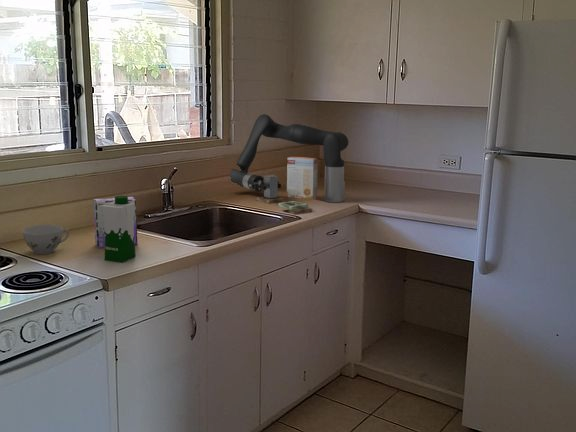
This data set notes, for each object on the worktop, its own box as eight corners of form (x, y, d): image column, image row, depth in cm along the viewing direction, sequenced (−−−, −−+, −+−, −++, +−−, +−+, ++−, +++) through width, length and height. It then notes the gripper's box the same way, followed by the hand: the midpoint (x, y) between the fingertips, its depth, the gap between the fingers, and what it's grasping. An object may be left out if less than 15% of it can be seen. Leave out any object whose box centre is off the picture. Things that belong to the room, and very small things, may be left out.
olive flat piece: (271, 200, 297) (271, 194, 297) (311, 211, 274) (311, 205, 274) (254, 203, 291) (254, 196, 291) (294, 214, 268) (294, 207, 268)
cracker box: (317, 200, 301) (318, 157, 297) (312, 202, 296) (313, 159, 291) (291, 197, 307) (292, 155, 302) (286, 199, 301) (287, 157, 297)
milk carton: (139, 256, 201) (137, 196, 197) (122, 264, 193) (120, 201, 188) (117, 253, 204) (114, 194, 200) (99, 260, 196) (96, 199, 192)
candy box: (97, 248, 210) (94, 201, 206) (95, 244, 215) (92, 198, 211) (138, 245, 215) (136, 199, 212) (135, 240, 220) (133, 196, 217)
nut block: (271, 199, 293) (272, 174, 290) (277, 201, 289) (277, 176, 286) (264, 200, 290) (264, 175, 287) (269, 202, 286) (270, 176, 284)
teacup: (32, 259, 196) (30, 235, 194) (18, 251, 205) (16, 228, 203) (77, 251, 206) (76, 228, 204) (62, 243, 215) (61, 221, 213)
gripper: (241, 175, 294) (260, 180, 281) (265, 173, 302) (285, 177, 290) (241, 191, 295) (260, 196, 283) (265, 188, 304) (285, 193, 292)
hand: (273, 186), depth 287 cm, fingers open, 8 cm apart
